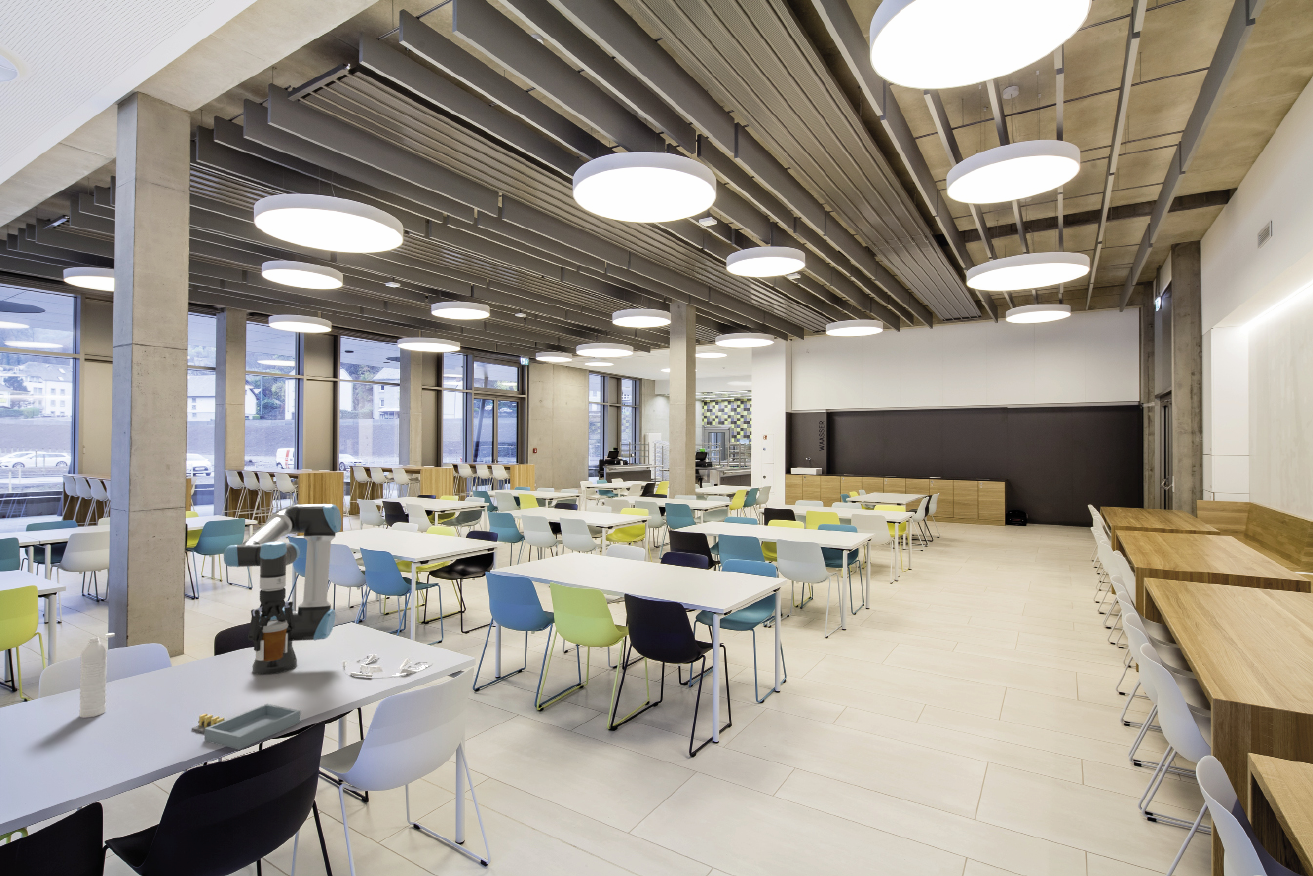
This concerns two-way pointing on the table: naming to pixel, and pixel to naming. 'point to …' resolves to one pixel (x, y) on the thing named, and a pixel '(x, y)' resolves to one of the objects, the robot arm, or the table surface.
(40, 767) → the table surface
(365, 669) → the cable organizer
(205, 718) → the clip
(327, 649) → the table surface
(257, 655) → the robot arm
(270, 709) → the shallow rectangular grey tray
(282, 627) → the disposable coffee cup
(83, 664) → the water bottle
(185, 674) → the table surface
